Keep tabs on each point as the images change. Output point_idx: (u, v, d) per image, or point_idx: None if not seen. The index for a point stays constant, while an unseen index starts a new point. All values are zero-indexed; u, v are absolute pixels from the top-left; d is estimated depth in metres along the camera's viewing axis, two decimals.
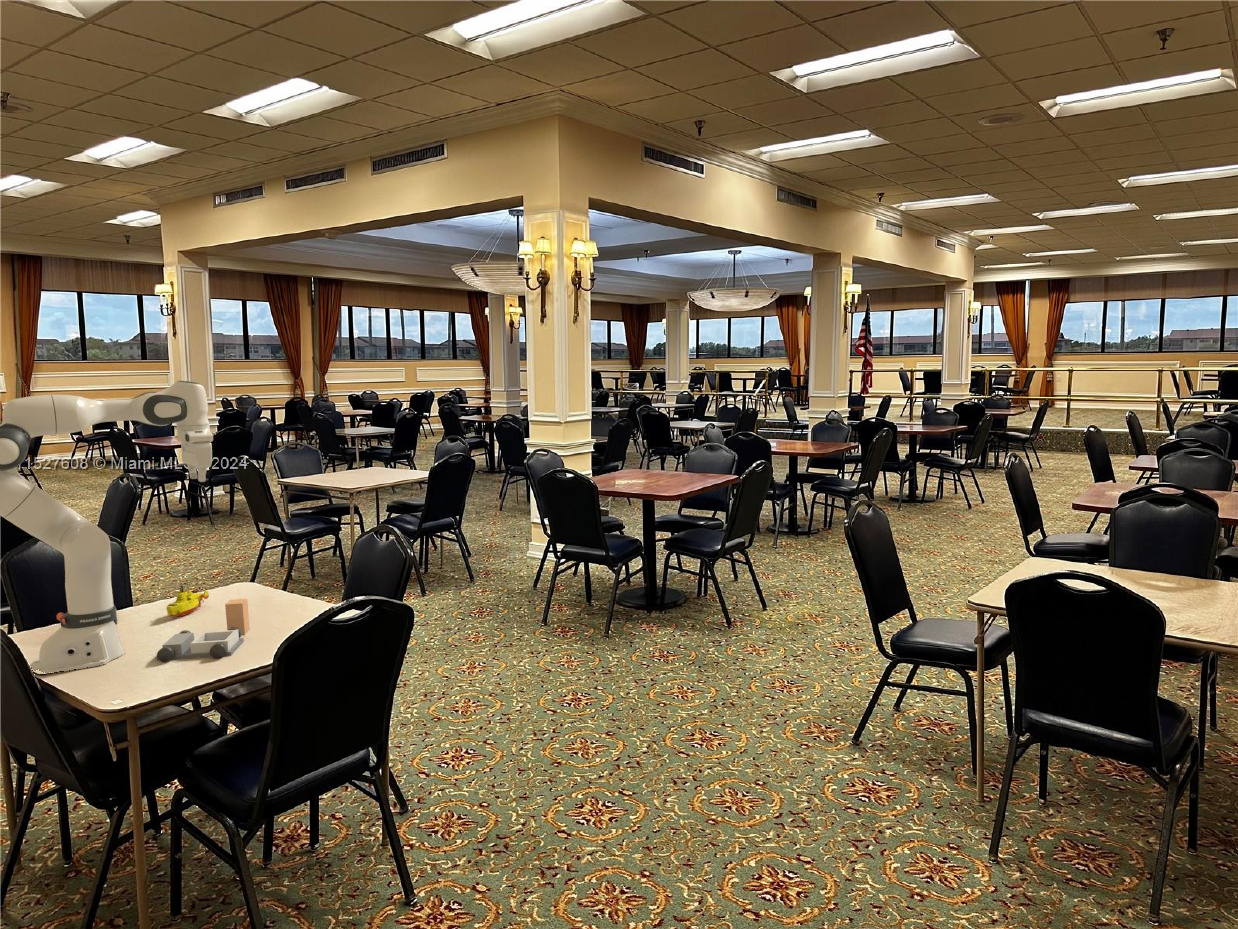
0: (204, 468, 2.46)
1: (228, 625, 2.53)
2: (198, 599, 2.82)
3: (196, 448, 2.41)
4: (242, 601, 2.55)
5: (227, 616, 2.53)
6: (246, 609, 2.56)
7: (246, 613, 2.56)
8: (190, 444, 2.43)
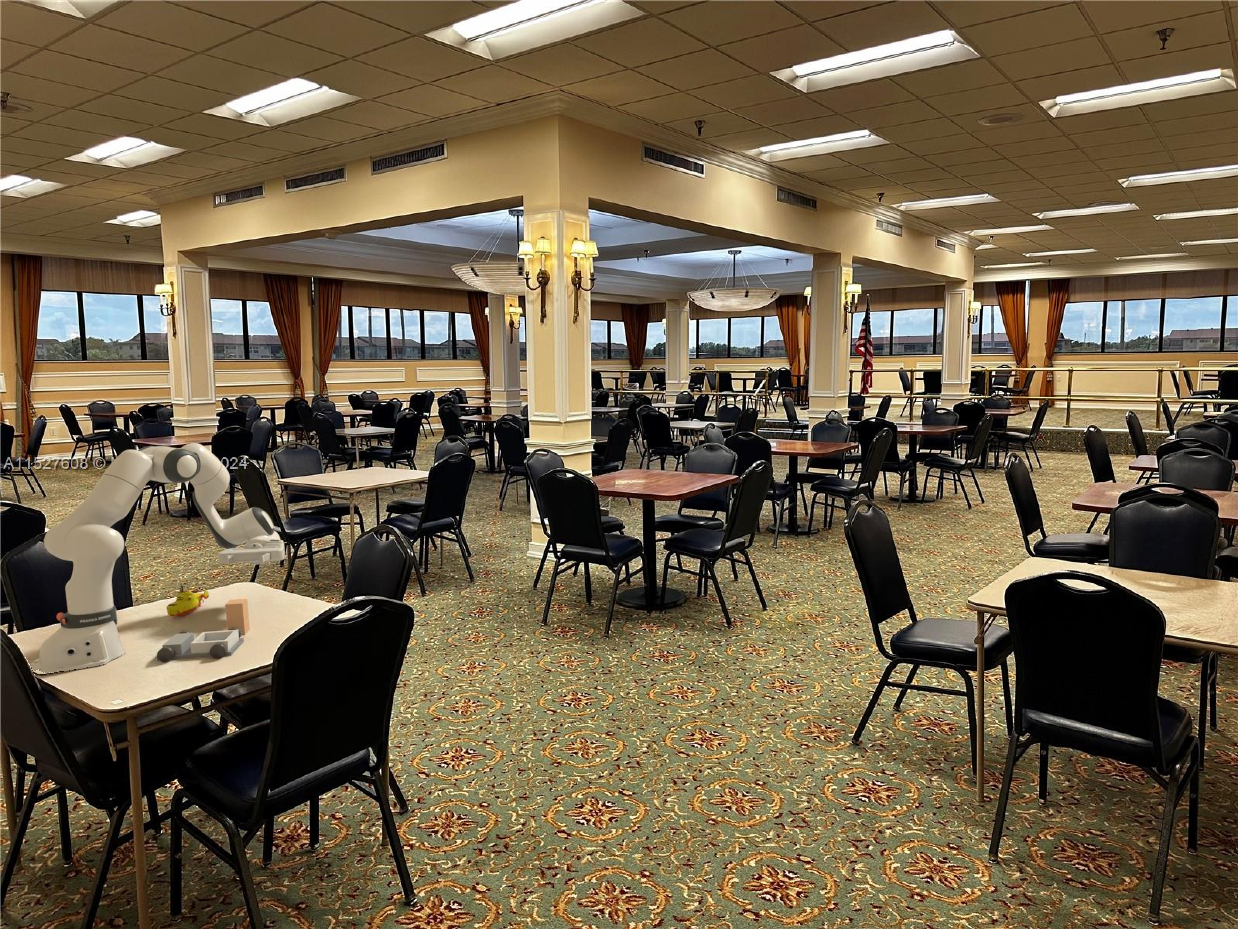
0: (270, 557, 2.70)
1: (228, 625, 2.53)
2: (198, 599, 2.82)
3: (283, 546, 2.77)
4: (242, 601, 2.55)
5: (227, 616, 2.53)
6: (246, 609, 2.56)
7: (246, 613, 2.56)
8: (275, 543, 2.77)
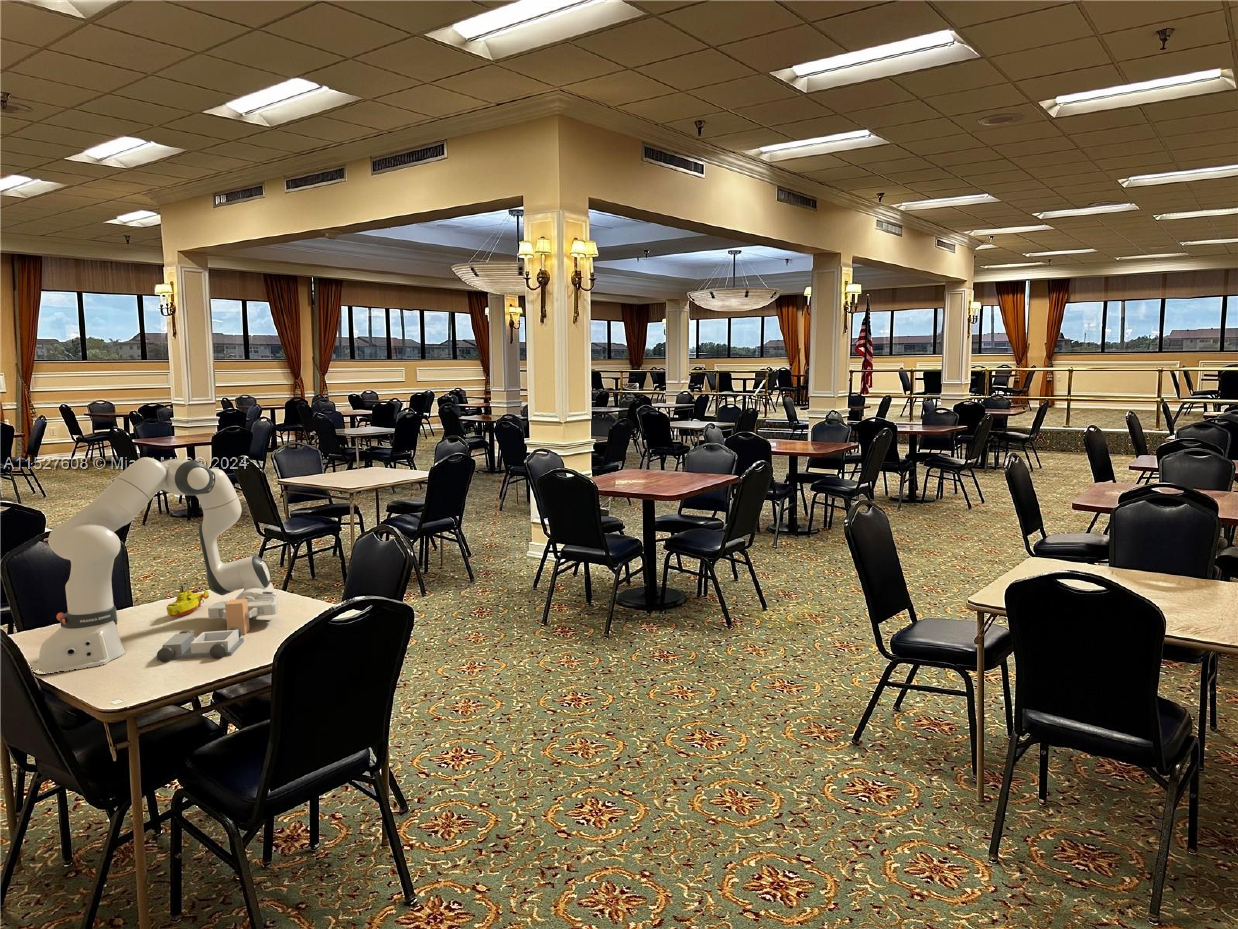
0: (257, 613, 2.59)
1: (228, 625, 2.53)
2: (198, 599, 2.82)
3: (276, 599, 2.66)
4: (242, 601, 2.55)
5: (227, 616, 2.53)
6: (246, 609, 2.56)
7: None
8: (268, 596, 2.66)
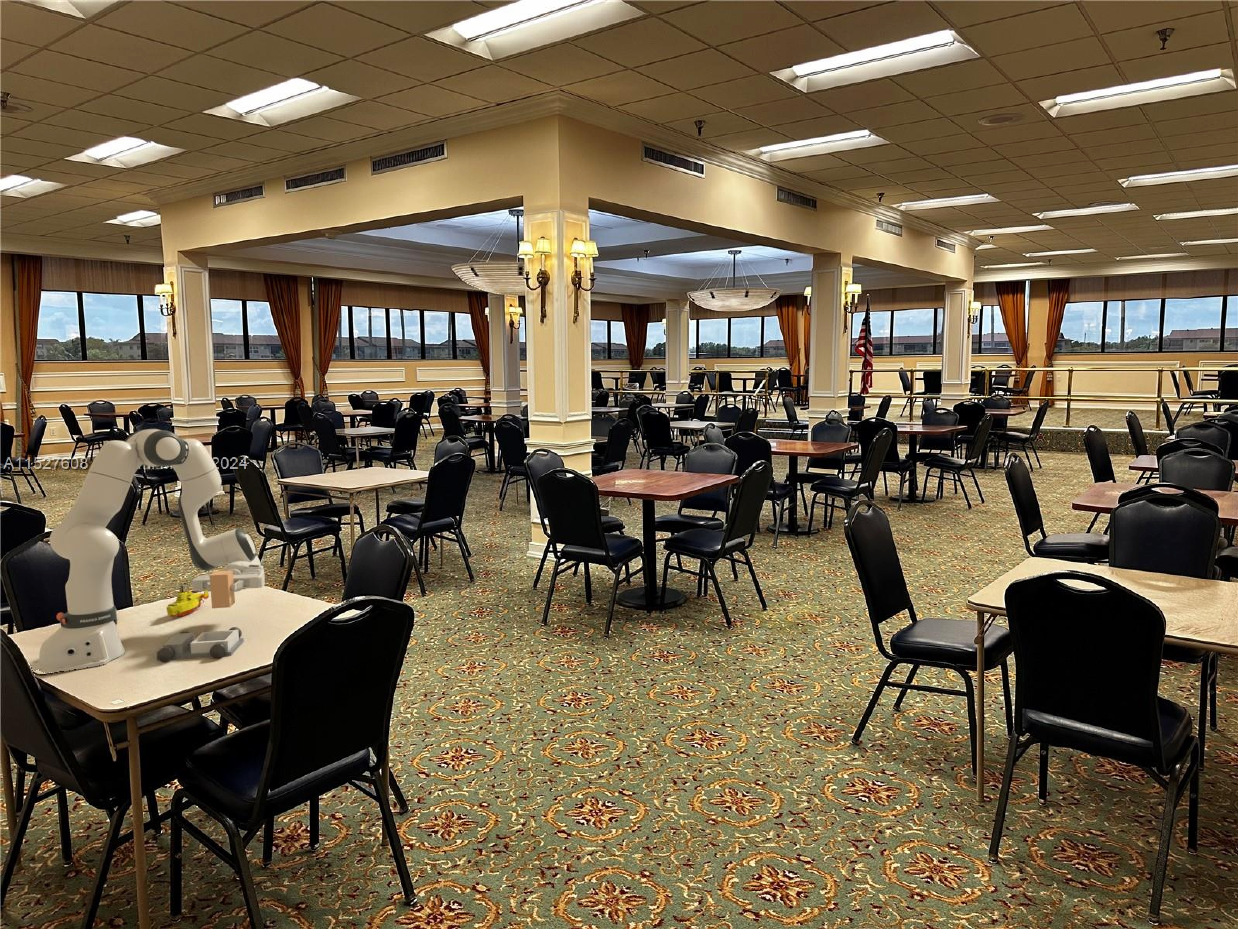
0: (243, 585, 2.50)
1: (212, 597, 2.44)
2: (198, 599, 2.82)
3: (263, 572, 2.57)
4: (227, 572, 2.46)
5: (211, 587, 2.44)
6: (231, 581, 2.48)
7: None
8: (254, 569, 2.58)
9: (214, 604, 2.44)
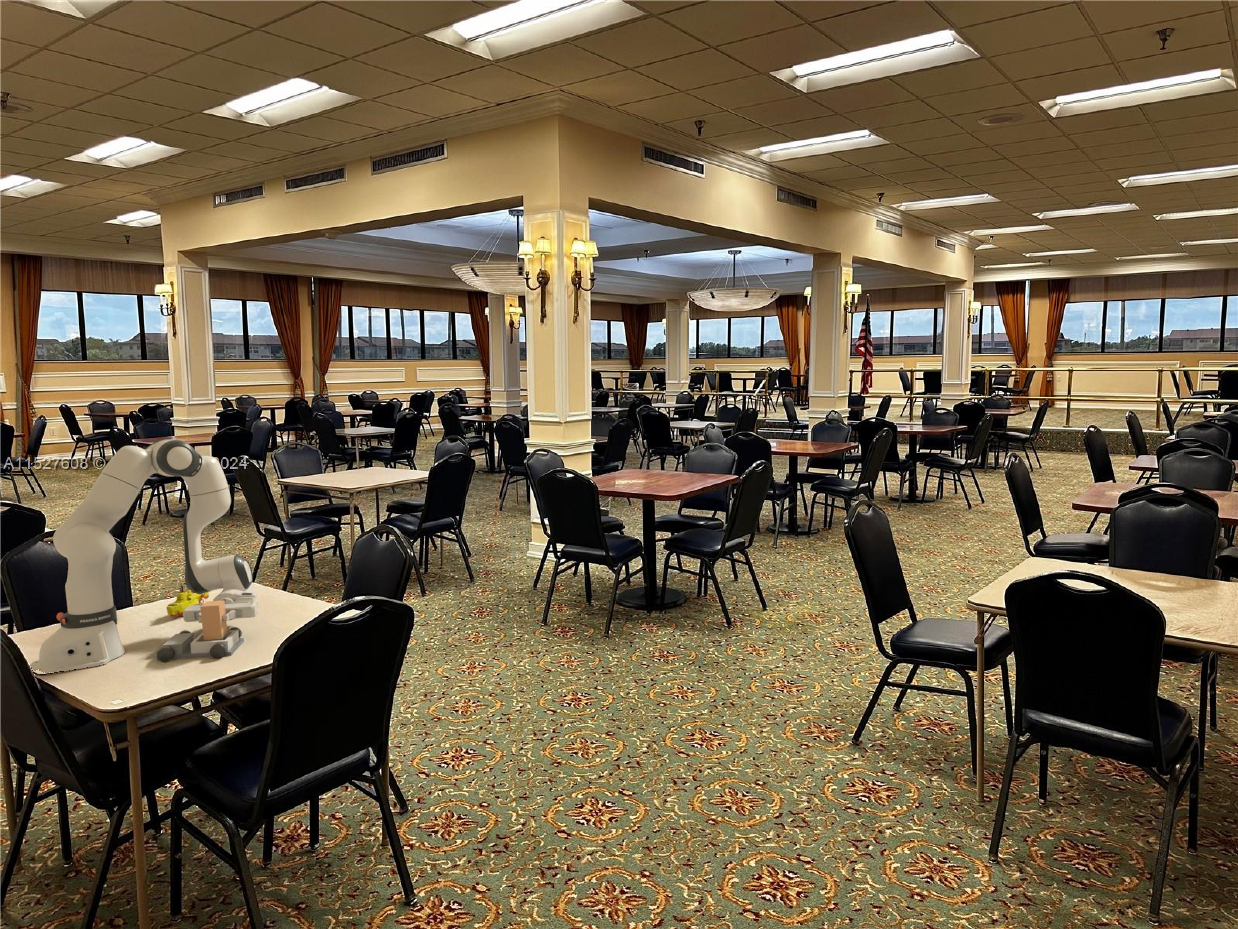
0: (235, 615, 2.44)
1: (204, 629, 2.38)
2: (198, 599, 2.82)
3: (256, 600, 2.51)
4: (219, 603, 2.39)
5: (203, 619, 2.37)
6: (223, 611, 2.41)
7: None
8: (247, 597, 2.51)
9: (205, 636, 2.38)
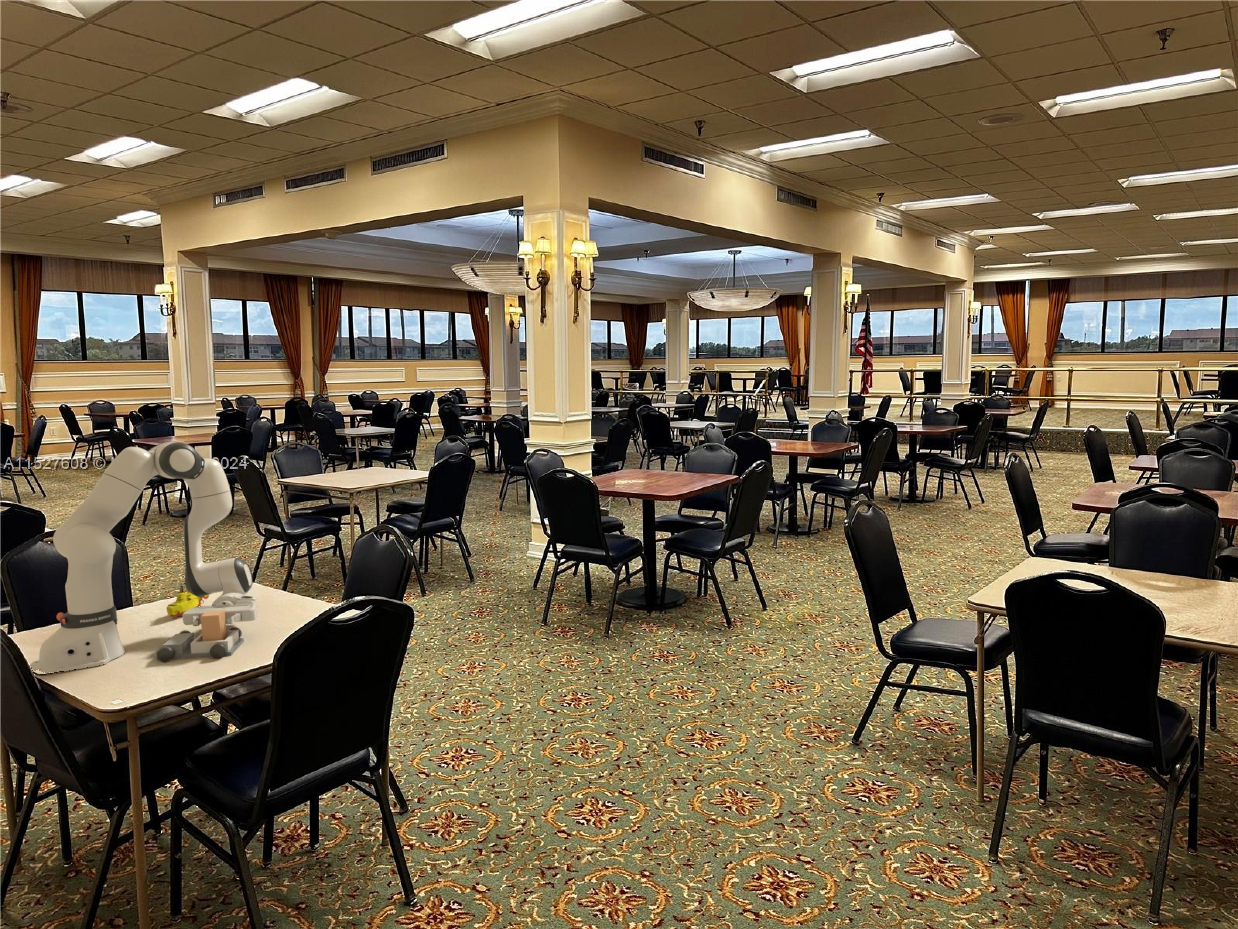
0: (240, 618, 2.44)
1: (204, 638, 2.38)
2: (198, 599, 2.82)
3: (256, 603, 2.50)
4: (219, 613, 2.40)
5: (203, 629, 2.37)
6: (223, 621, 2.41)
7: (223, 625, 2.41)
8: (247, 600, 2.51)
9: None
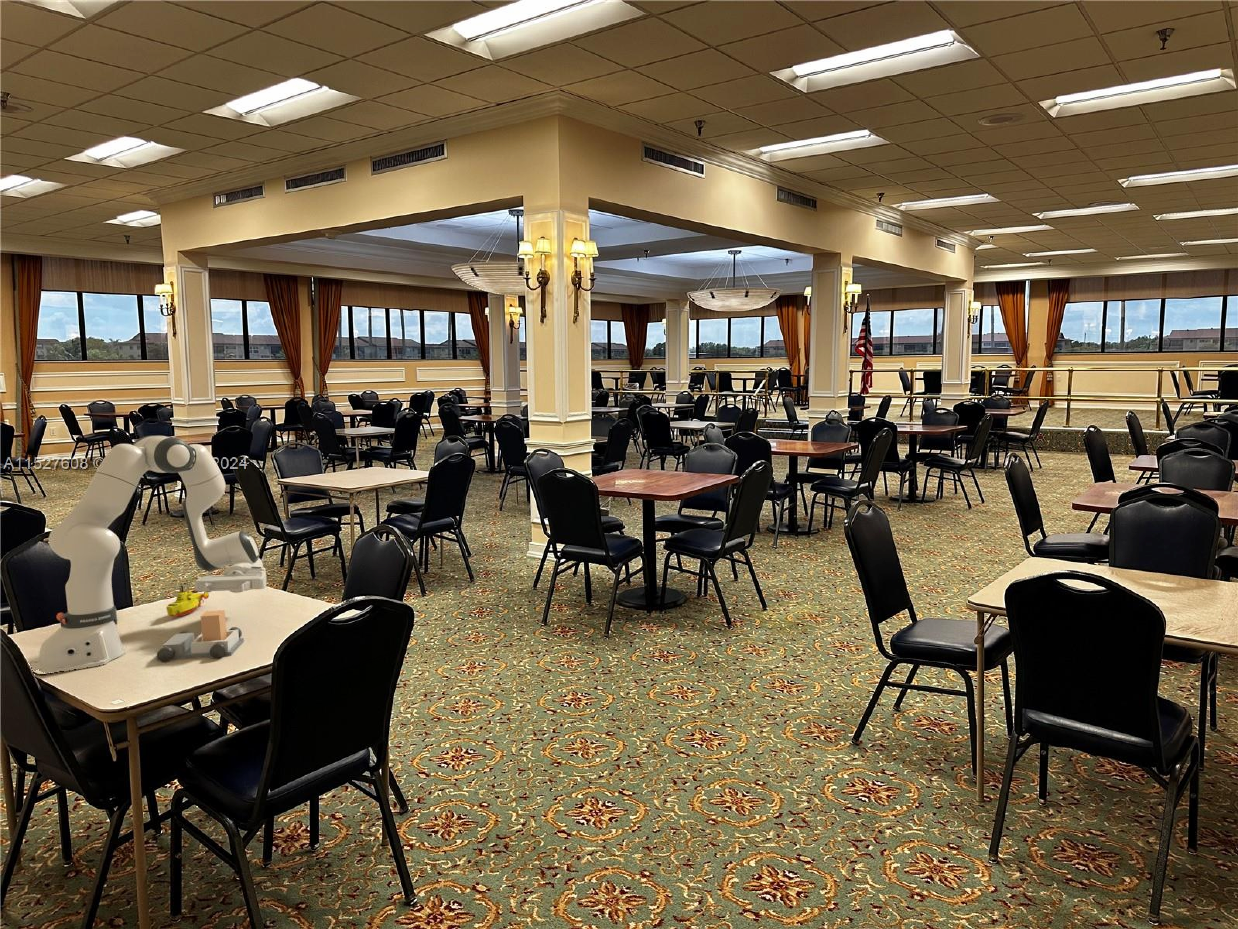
0: (250, 586, 2.56)
1: (204, 638, 2.38)
2: (198, 599, 2.82)
3: (265, 573, 2.62)
4: (219, 613, 2.40)
5: (203, 629, 2.37)
6: (223, 621, 2.41)
7: (223, 625, 2.41)
8: (256, 570, 2.63)
9: None
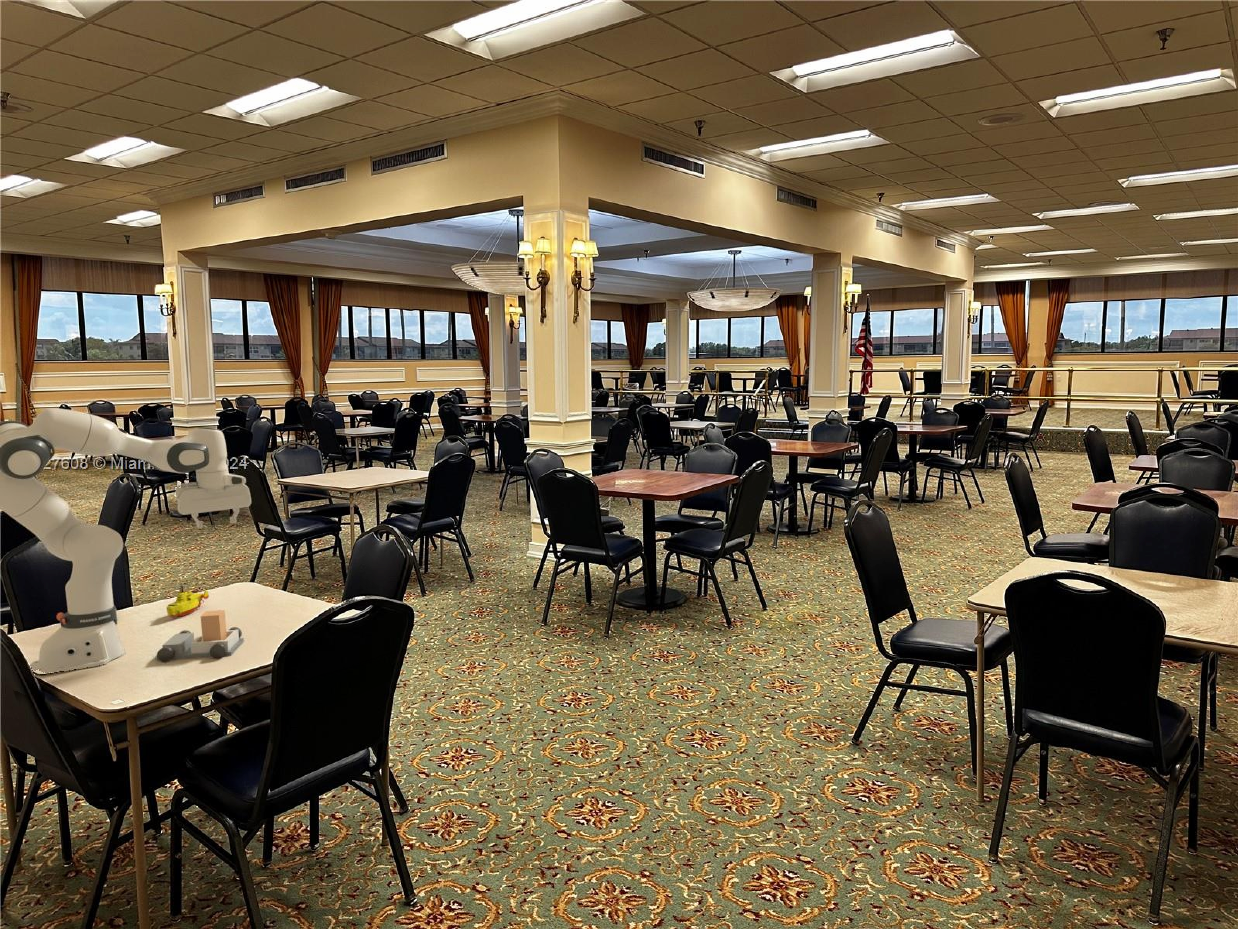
0: None
1: (204, 638, 2.38)
2: (198, 599, 2.82)
3: None
4: (219, 613, 2.40)
5: (203, 629, 2.37)
6: (223, 621, 2.41)
7: (223, 625, 2.41)
8: (238, 486, 2.52)
9: None
